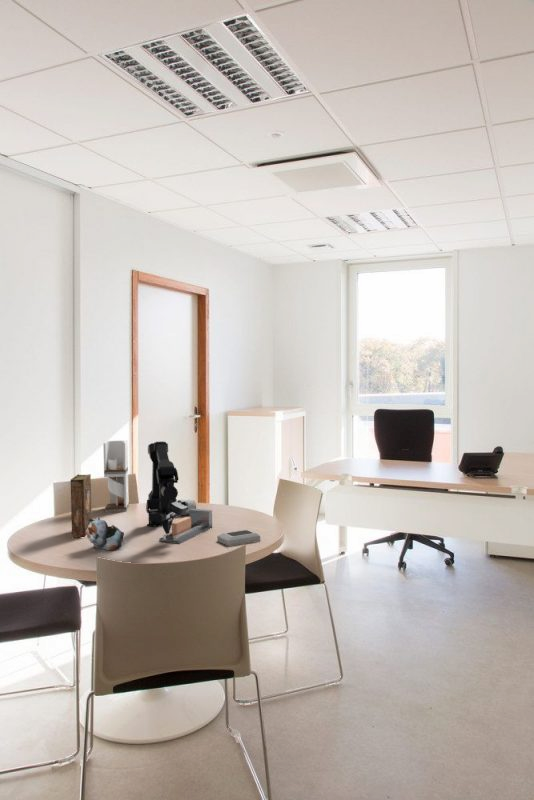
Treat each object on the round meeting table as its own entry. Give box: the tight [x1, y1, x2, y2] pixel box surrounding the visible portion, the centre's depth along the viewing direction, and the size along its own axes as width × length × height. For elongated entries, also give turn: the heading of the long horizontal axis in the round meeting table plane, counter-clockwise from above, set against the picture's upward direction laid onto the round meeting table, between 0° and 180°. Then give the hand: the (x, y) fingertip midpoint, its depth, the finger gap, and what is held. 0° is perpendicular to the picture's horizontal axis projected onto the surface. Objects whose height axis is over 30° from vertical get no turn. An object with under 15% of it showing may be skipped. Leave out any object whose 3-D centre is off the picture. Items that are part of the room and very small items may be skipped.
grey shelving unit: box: [103, 440, 130, 513], centre depth 324 cm, size 11×11×35 cm
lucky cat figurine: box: [86, 517, 125, 552], centre depth 252 cm, size 15×12×14 cm
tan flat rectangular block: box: [171, 516, 191, 537], centre depth 268 cm, size 2×12×6 cm, turn 157°
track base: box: [158, 508, 213, 544], centre depth 272 cm, size 10×28×8 cm, turn 157°
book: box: [70, 473, 93, 539], centre depth 275 cm, size 16×6×25 cm, turn 5°
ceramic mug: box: [177, 498, 197, 516], centre depth 313 cm, size 11×8×8 cm
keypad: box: [217, 529, 261, 547], centre depth 260 cm, size 10×4×15 cm
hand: (167, 533), depth 258 cm, fingers closed
